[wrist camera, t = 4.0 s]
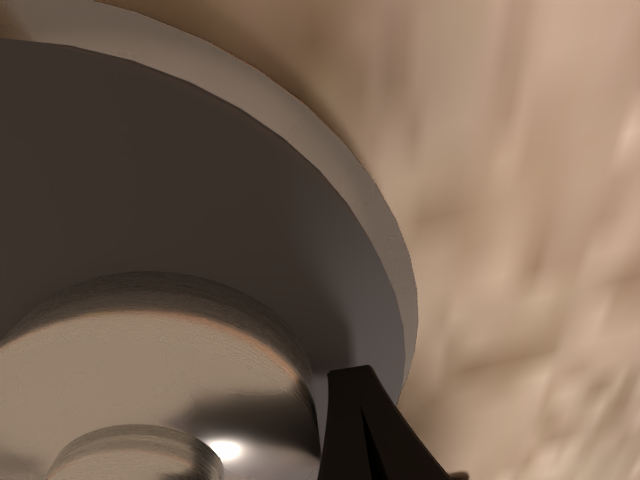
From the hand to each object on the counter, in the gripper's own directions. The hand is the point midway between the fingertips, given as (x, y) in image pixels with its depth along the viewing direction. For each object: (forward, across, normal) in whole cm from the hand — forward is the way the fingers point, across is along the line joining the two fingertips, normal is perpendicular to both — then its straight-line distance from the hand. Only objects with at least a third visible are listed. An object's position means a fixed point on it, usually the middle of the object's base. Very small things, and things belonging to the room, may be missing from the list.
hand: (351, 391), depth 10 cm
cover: (+1, +6, 0) cm, 6 cm away
